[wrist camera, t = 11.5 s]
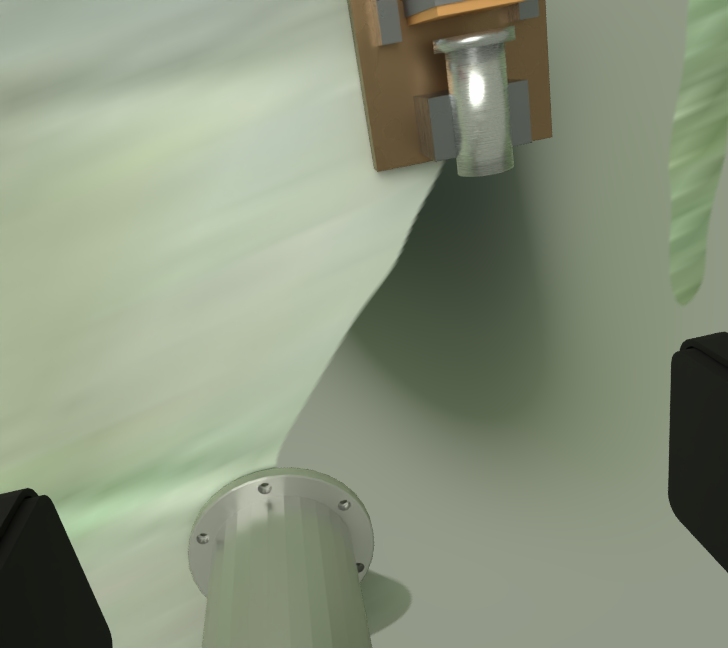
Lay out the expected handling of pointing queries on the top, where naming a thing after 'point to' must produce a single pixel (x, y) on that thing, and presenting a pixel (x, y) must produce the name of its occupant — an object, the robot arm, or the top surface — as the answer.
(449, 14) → the block
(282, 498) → the robot arm
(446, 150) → the shaft bench
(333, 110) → the top surface
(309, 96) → the top surface
